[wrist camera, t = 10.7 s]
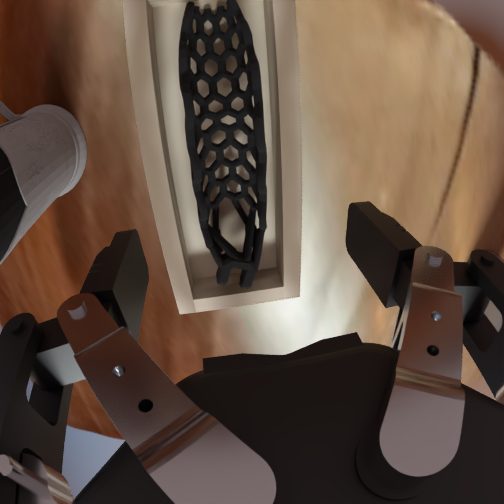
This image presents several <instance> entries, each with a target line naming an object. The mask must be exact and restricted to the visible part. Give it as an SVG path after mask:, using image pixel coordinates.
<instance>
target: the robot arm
mask: <svg viewBox="0 0 504 504" xmlns="http://www.w3.org/2000/svg"><path fill="white" fill-rule="evenodd" d="M346 248H347V251H348V253H349V255H350V256H351V258H352V259H353V261H354V262H355V264H356V265H357V266H358V268H359V269H360V271H361V272H362V274H363V275H364V277H365V278H366V279H367V281H368V282H369V284H370V285H371V287H372V288H373V290H374V291H375V293H376V294H377V296H378V297H379V299H380V300H381V302H382V303H383V305H384V306H385V308H388V307H393V306H397V305H398V306H399V307H400V308H399V311H398V314H397V318H396V323H395V327H394V331H393V335H392V339H391V343H390V347H388V346H385V345H381V344H375V343H362V341H361V339H360V337H359V335H358V334H357V332H355V333H351V334H346V335H342V336H337V337H333V338H328V339H323V340H320V341H318V342H316V343H313V344H311V345H309V346H306V347H304V348H302V349H299V350H297V351H294V352H292V353H290V354H287V355H263V354H243V353H242V354H235V355H227V356H219V357H211V358H203V370H202V371H199V372H197V373H195V374H192V375H190V376H188V377H186V378H185V379H183V380H181V381H180V382H178V383H177V384H175V383H174V382H173V381H172V380H171V379H170V378H169V377H168V376H167V375H166V374H165V373H164V372H163V371H162V370H161V368H160V367H159V366H158V365H157V364H156V363H155V362H154V361H153V360H152V359H151V357H150V356H149V355H148V354H147V353H146V352H145V351H144V350H143V348H142V347H141V346H140V345H139V344H138V336H139V330H140V324H141V318H142V313H143V307H144V302H145V296H146V291H147V286H148V281H149V273H148V267H147V263H146V259H145V256H144V252H143V249H142V245H141V242H140V238H139V235H138V232H137V230H136V229H134V230H127V231H121V232H116V234H115V236H114V238H113V240H112V242H111V245H110V246H109V247H105V248H104V249H103V250H102V251H101V252H100V253H99V254H98V255H97V256H96V258H95V260H94V262H93V266H92V267H91V269H90V271H89V272H90V273H88V275H87V278H86V280H85V282H84V284H83V287H82V289H81V291H80V294H77V295H74V296H72V297H70V298H68V299H67V300H66V301H64V302H63V303H62V305H61V306H60V307H59V309H58V311H57V317H56V318H54V319H51V320H48V321H45V322H42V323H39V324H38V322H37V321H36V319H35V317H34V316H33V315H32V314H30V313H21V314H18V315H16V316H15V317H13V318H12V319H10V320H9V321H8V322H7V323H6V325H5V326H4V328H3V329H2V332H1V334H0V504H504V260H503V259H502V258H501V257H500V256H497V255H496V254H495V253H493V252H492V251H485V250H474V251H472V252H471V254H470V257H469V261H468V263H467V262H453V259H452V257H451V256H450V255H449V254H448V253H447V252H446V251H444V250H442V249H440V248H437V247H434V246H422V245H421V244H420V243H419V242H418V241H417V240H416V239H415V238H414V237H413V236H412V235H411V234H410V233H409V232H408V231H406V229H405V228H403V227H402V226H400V224H399V223H398V222H397V221H396V220H395V219H394V218H393V217H391V216H389V215H387V214H385V213H383V212H381V211H380V210H378V209H377V208H376V207H375V206H374V205H373V204H372V203H371V202H369V201H367V202H356V203H351V204H350V205H349V208H348V219H347V230H346ZM463 344H464V346H465V347H466V349H467V350H468V352H469V354H470V355H471V357H472V358H473V360H474V362H475V363H476V365H477V367H478V368H479V370H480V372H481V374H482V375H483V377H484V379H485V381H486V382H487V384H488V386H489V387H490V389H491V391H492V393H493V395H494V397H495V399H496V400H494V399H491V398H490V397H488V396H486V395H484V394H481V393H480V392H478V391H476V390H474V389H472V388H470V387H468V386H466V385H464V384H462V383H461V372H462V353H463ZM30 377H31V378H32V379H33V380H34V384H33V388H32V391H31V395H30V399H29V402H28V400H27V396H26V389H27V385H28V381H29V378H30ZM83 379H86V380H87V382H88V384H89V385H90V387H91V389H92V390H93V392H94V394H95V395H96V397H97V399H98V400H99V402H100V403H101V405H102V407H103V408H104V410H105V411H106V413H107V414H108V416H109V418H110V419H111V421H112V422H113V424H114V425H115V426H116V428H117V429H118V431H119V432H120V434H121V435H122V437H123V438H124V439H125V442H124V443H123V444H122V445H121V446H120V448H119V449H118V450H117V451H116V452H115V453H114V455H113V456H112V457H111V458H110V459H109V460H108V461H107V463H106V464H105V465H104V466H103V467H102V468H101V469H100V471H99V472H98V473H97V474H96V475H95V476H94V477H93V478H92V480H91V481H90V482H89V483H88V484H87V485H86V486H85V487H84V489H83V490H82V491H81V492H80V493H79V494H78V495H77V496H76V498H75V499H74V498H73V496H72V495H71V490H70V486H69V484H68V482H67V480H66V479H65V478H64V476H63V475H62V463H63V451H64V441H65V433H66V426H67V418H68V412H69V405H70V399H71V393H72V388H73V383H74V382H77V381H80V380H83Z"/></svg>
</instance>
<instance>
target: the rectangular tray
mask: <svg viewBox="0 0 504 504" xmlns="http://www.w3.org/2000/svg"><path fill="white" fill-rule="evenodd" d="M189 1H190V2H194V4H195V5H194V6H199V7H200V9H199V11H200V13H201V15H202V14H203V13H204V9H206V8H211V12H212V13H213V15H215V14H216V12H217V7H218V6H224V7H225V10H227V4H226V2H227V0H123V9H124V24H125V36H126V47H127V57H128V66H129V75H130V83H131V91H132V98H133V105H134V112H135V118H136V125H137V131H138V137H139V143H140V148H141V154H142V159H143V165H144V170H145V175H146V180H147V185H148V190H149V194H150V199H151V204H152V208H153V213H154V217H155V222H156V226H157V230H158V234H159V238H160V242H161V247H162V251H163V254H164V258H165V262H166V266H167V270H168V274H169V277H170V281H171V285H172V288H173V292H174V295H175V299H176V302H177V306H178V309H179V313H180V314H187V313H195V312H202V311H210V310H217V309H224V308H231V307H238V306H245V305H252V304H258V303H264V302H271V301H277V300H283V299H289V298H295V297H300V273H301V235H302V133H301V96H300V72H299V52H298V35H297V20H296V7H295V0H236V1H237V3H238V5H239V7H240V9H241V11H242V13H243V15H244V18H245V19H246V21H247V23H248V24H249V27H250V30H251V32H252V37H253V45H254V49H255V53H256V56H257V59H258V61H259V65H260V73H261V84H262V97H263V110H264V128H265V142H266V147H267V171H266V186H267V212H266V221H267V229H266V230H265V233H264V240H263V247H262V254H261V258H260V263H259V267H258V271H257V273H256V274H255V277H254V280H253V283H252V286H251V287H250V288H248V289H244V288H241V287H240V285H239V282H240V275H241V271H242V269H237V268H232V269H231V271H230V275H229V278H228V282H227V284H226V285H225V286H224V285H219V284H217V279H216V272H217V269H218V265H217V264H216V262H215V260H214V258H213V256H212V254H211V252H210V250H209V249H208V248H207V247H206V245H205V241H204V238H203V235H202V231H201V228H200V224H199V219H198V211H197V201H196V198H195V194H194V191H193V187H192V178H191V165H190V158H189V154H188V150H187V144H186V134H185V110H184V103H183V97H182V94H181V90H180V84H179V62H178V57H179V40H180V31H181V25H182V20H183V16H184V12H185V8H186V4H187V2H189ZM234 19H235V16H234ZM235 22H236V19H235ZM220 29H221V31H222V32H224V33H226V31H227V29H228V24H227V21H226V19H225V18H224V17H223V18H222V20H221V22H220ZM193 30H194V33H195V32H196V22H195V19H194V21H193ZM204 32H205V33H206V34H207V35H208V36H210V35H211V34H212V33H213V29H212V24H211V23H210V22H209V21H208V20H207V21H206V22H205V23H204ZM232 43H233V48H235V49H237V47H238V44H239V40H238V37H237V34H236V33H234V35H233V37H232ZM213 45H214V52H215V53H217V54H218V55H221V54H222V53H223V51H224V50H225V46H224V41H222V40H221V39H219V38H218V39H217V40H216V41H215V42H214V43H213ZM197 51H198V53H199V54H200V55H201V56H202V55H203V54H205V53H206V52H205V43H204V42H203V41H202V40H201V39H199V40H197ZM244 59H245V63H246V64H247V60H248V58H247V53H246V51H245V54H244ZM236 67H237V62H236V58H235V57H234V56H231V55H230V56H229V58H228V59H227V60H226V70H227V71H229V72H231V73H233V72H234V70H235V69H236ZM191 69H192V71H193V73H194V74H195V73H196V72H197V69H196V62H195V61H194V60H193V59H192V58H191ZM205 71H206V73H207V74H209V75H210V76H213V75H214V74H216V73H217V72H218V65H217V63H216V62H215V61H213V60H212V59H209V60H208V61H207V62H206V63H205ZM239 83H240V88H241V90H244V91H245V90H246V87H247V84H248V81H247V75H246V73H244V72H243V73H242V75H241V77H240V78H239ZM197 85H198V92H199V93H200V94H201V95H202V96H203V97H204V98H205V97H206V96H207V95H208V94H209V87H208V83H206V82H205V81H203V80H199V81H198V82H197ZM217 87H218V93H220V94H222V95H223V96H225V97H226V96H227V95H228V94H229V93H230V92H231V91H232V88H231V82H230V80H228V79H226V78H222V79H221V80H220V81H218V82H217ZM252 102H253V107H254V98H253V97H252ZM193 103H194V109H195V114H196V115H198V114H199V113H200V106H199V105H198V104H197V103H196V102H195V101H193ZM231 106H232V108H233V109H236V110H238V111H239V110H240V109H242V108H243V107H244V104H243V99H241V98H239V97H237V98H235V99H234V100H233V102H232V103H231ZM222 109H223V104H221V103H219V102H217V101H215V100H214V101H213V102H212V103H210V104H209V110H210V111H212V112H215V113H216V112H218V111H220V110H222ZM244 120H245V123H246V124H247V125H248V126H249V127H250V128H252V129H253V121H252V118H251V117H250V116H249V115H247V116H246V117H244ZM221 122H222V123H226V124H229V125H230V124H232V123H235V122H236V119H235V118H233V117H231V116H229V115H227V116H226V117H224V118H222V119H221ZM212 124H213V121H212V120H210V119H207V118H206V119H205V121H204V122H203V123H202V125H201V127H202V130H206V129H207V128H208V127H209V126H210V125H212ZM234 137H235V139H237V140H238V141H239V142H240V143H242V144H246V143H248V141H247V135H245V134H244V133H243V132H242V131H241V130H237V131H235V132H234ZM211 138H212V142H213V143H216V144H219V143H221V142H222V141H223V140H224V139H225V138H226V132H223V131H220V130H218V131H217V132H216V133H214V134H213V135H212V136H211ZM202 147H203V138H201V139H200V142H199V145H198V149H197V151H198V154H199V153H200V151H201V149H202ZM246 153H247V160H248V161H249V162H250V163H251V164H252V165H253V166H254V167H255V168H256V162H255V160H254V158H253V156H252V154H251V152H250V151H248V152H246ZM224 157H225V158H228V159H230V160H234V159H237V158H238V150H236V149H235V148H234V147H232V146H231V145H230V146H228V147H227V148H226V149H225V150H224ZM215 159H216V153H215V152H214V151H211V150H210V151H209V154H208V156H207V158H206V160H205V165H206V167H210V165H211V164H212V163H213V162H214V161H215ZM236 169H237V174H238V175H240V176H241V177H242V178H244V179H245V180H248V179H249V173H248V172H247V171H246V170H245V168H244V167H243V166H242V165H240V166H238V167H236ZM228 173H229V171H228V167H226V166H224V165H221V166H220V167H219V168H218V169H217V171H216V172H215V176H216V178H220V179H222V178H223V177H224V176H226V175H227V174H228ZM207 183H208V176H207V175H205V179H204V184H203V192H204V189H205V187H206V185H207ZM227 190H228V191H231V192H233V193H237V192H240V191H241V187H240V185H239V184H238V183H236V182H235V181H234V180H232V181H230V182H229V183H228V184H227ZM219 192H220V191H219V186H214V188H213V190H212V192H211V195H210V201H213V200H214V199H215V197H216V196H217V194H218V193H219ZM248 192H249V194H250V195H251V196H252V198H253V199H254V200H255V202H256V203H257V199H256V196H255V194H254V192H253V190H252V188H251V187H248ZM239 203H240V204H241V206H242V208H243V210H244V211H245V213H246V215H247V217H248V215H249V209H250V206H249V205H248V203H247V202H246V201H245V200H244V198H242V199H239ZM209 224H210V225H211V226H212V209H211V210H210V216H209ZM255 225H256V227H257V228H259V218H258V214H257V211H256V220H255ZM219 229H220V231H221V235H222V236H223V237H224V238H225V239H226V240H227V241H228V242H229V243H230V244H231V245H232V246H234V247H235V248H236V250H237V251H239V252H242V251H243V245H244V239H245V224H244V222H243V221H242V219H241V217H240V216H239V214H238V212H237V211H236V209H235V207H234V205H233V204H232V201H231V199H229V198H226V197H225V198H224V199H223V200H222V201H221V203H220V204H219ZM252 250H253V247H252ZM221 253H222V254H224V253H225V252H224V251H223V252H221Z"/></svg>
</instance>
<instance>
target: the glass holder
mask: <svg viewBox="0 0 504 504" xmlns="http://www.w3.org/2000/svg"><path fill="white" fill-rule="evenodd" d="M0 113H1V114H2V115H3V116H4V117H5V118H7V119H8V120H10V121H8V122H6V123H3V124H1V125H0V265H1V263H2V262H3V261H4V260H5V258H6V257H7V256H8V255H9V253H10V252H11V251H12V249H13V248H14V247H15V245H16V244H17V243H18V242H19V240H20V239H21V238H22V237H23V236H24V234H25V233H26V232H27V231H28V229H29V228H30V227H31V226H32V225H33V224H34V222H35V221H36V220H37V219H38V218H39V217H40V216H41V214H42V213H43V212H44V211H45V210H46V209H47V208H48V207H49V205H50V204H51V203H52V202H53V201H54V200H55V199H56V198H57V197H59V196H62V195H64V194H65V193H67V192H69V191H70V190H71V189H72V188H73V187H74V186H75V185H76V184H77V182H78V181H79V179H80V178H81V176H82V174H83V171H84V168H85V165H86V159H87V146H86V139H85V136H84V133H83V130H82V128H81V126H80V124H79V123H78V121H77V120H76V119H75V117H74V116H73V115H72V114H71V113H69V112H68V111H66V110H65V109H63V108H61V107H59V106H56V105H50V104H46V105H39V106H35V107H33V108H31V109H29V110H27V111H26V112H25V113H24V114H18V115H16V114H14V113H13V112H12V111H11V110H10V109H8V108H7V107H6V106H5V105H4V104H3V103H2V102H1V101H0Z"/></svg>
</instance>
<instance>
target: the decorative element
mask: <svg viewBox="0 0 504 504" xmlns="http://www.w3.org/2000/svg"><path fill="white" fill-rule="evenodd" d="M226 4H227V10H225V7H224V6H218V7H217V12H216V14H215V15H213V13H212V12H211V8H206V9H204V13H203V14H202V15H201V13H200V11H199V9H200V7H199V6H194V5H195V4H194V2H190V1H189V2H187V4H186V8H185V12H184V16H183V20H182V25H181V31H180V40H179V57H178V62H179V84H180V90H181V94H182V97H183V103H184V110H185V134H186V144H187V150H188V154H189V158H190V165H191V178H192V187H193V191H194V194H195V198H196V201H197V211H198V219H199V224H200V228H201V231H202V235H203V238H204V241H205V245H206V247H207V248H208V249H209V250H210V252H211V254H212V256H213V258H214V260H215V262H216V264H217V265H218V269H217V272H216V279H217V284H219V285H224V286H225V285H226V284H227V282H228V278H229V275H230V271H231V269H232V268H237V269H242V271H241V275H240V282H239V285H240V287H241V288H244V289H248V288H250V287H251V286H252V283H253V280H254V277H255V274H256V273H257V271H258V267H259V263H260V258H261V254H262V247H263V240H264V233H265V230H266V229H267V221H266V212H267V186H266V171H267V147H266V142H265V128H264V110H263V97H262V84H261V73H260V65H259V61H258V59H257V56H256V53H255V49H254V45H253V37H252V32H251V30H250V27H249V24H248V23H247V21H246V19H245V18H244V15H243V13H242V11H241V9H240V7H239V5H238V3H237V1H236V0H227V2H226ZM234 16H235V19H236V22H235V19H234ZM223 17H224V18H225V19H226V21H227V24H228V29H227V31H226V33H224V32H222V31H221V29H220V22H221V20H222V18H223ZM194 19H195V22H196V32H195V33H194V30H193V21H194ZM207 20H208V21H209V22H210V23H211V24H212V29H213V33H212V34H211V35H210V36H208V35H207V34H206V33H205V32H204V23H205V22H206V21H207ZM234 33H236V34H237V37H238V40H239V44H238V47H237V49H235V48H233V43H232V37H233V35H234ZM218 38H219V39H221V40H222V41H224V46H225V50H224V51H223V53H222V54H221V55H218V54H217V53H215V52H214V45H213V43H214V42H215V41H216V40H217V39H218ZM199 39H201V40H202V41H203V42H204V43H205V52H206V53H205V54H203V55H202V56H201V55H200V54H199V53H198V51H197V40H199ZM245 51H246V53H247V58H248V60H247V64H246V63H245V59H244V54H245ZM230 55H231V56H234V57H235V58H236V62H237V67H236V69H235V70H234V72H233V73H231V72H229V71H227V70H226V60H227V59H228V58H229V56H230ZM191 58H192V59H193V60H194V61H195V62H196V69H197V72H196V73H195V74H194V73H193V71H192V69H191ZM209 59H212V60H213V61H215V62H216V63H217V65H218V72H217V73H216V74H214V75H213V76H210V75H209V74H207V73H206V71H205V63H206V62H207V61H208V60H209ZM243 72H244V73H246V75H247V81H248V84H247V87H246V90H245V91H244V90H241V88H240V83H239V78H240V77H241V75H242V73H243ZM222 78H226V79H228V80H230V82H231V88H232V91H231V92H230V93H229V94H228V95H227V96H226V97H225V96H223V95H222V94H220V93H218V87H217V82H218V81H220V80H221V79H222ZM199 80H203V81H205V82H206V83H208V87H209V94H208V95H207V96H206V97H205V98H204V97H203V96H202V95H201V94H200V93H199V92H198V85H197V82H198V81H199ZM237 97H239V98H241V99H243V104H244V107H243V108H242V109H240V110H239V111H238V110H236V109H233V108H232V106H231V103H232V102H233V100H234V99H235V98H237ZM252 97H253V98H254V107H253V102H252ZM214 100H215V101H217V102H219V103H221V104H223V109H222V110H220V111H218V112H216V113H215V112H212V111H210V110H209V104H210V103H212V102H213V101H214ZM193 101H195V102H196V103H197V104H198V105H199V106H200V113H199V114H198V115H196V114H195V109H194V103H193ZM227 115H229V116H231V117H233V118H235V119H236V122H235V123H232V124H230V125H229V124H226V123H222V122H221V119H222V118H224V117H226V116H227ZM247 115H249V116H250V117H251V118H252V121H253V129H252V128H250V127H249V126H248V125H247V124H246V123H245V120H244V117H246V116H247ZM206 118H207V119H210V120H212V121H213V124H212V125H210V126H209V127H208V128H207V129H206V130H202V127H201V125H202V123H203V122H204V121H205V119H206ZM218 130H220V131H223V132H226V138H225V139H224V140H223V141H222V142H221V143H219V144H216V143H213V142H212V138H211V136H212V135H213V134H214V133H216V132H217V131H218ZM237 130H241V131H242V132H243V133H244V134H245V135H247V141H248V143H246V144H242V143H240V142H239V141H238V140H237V139H235V137H234V132H235V131H237ZM201 138H203V147H202V149H201V151H200V153H199V154H198V151H197V149H198V145H199V142H200V139H201ZM230 145H231V146H232V147H234V148H235V149H236V150H238V158H237V159H234V160H230V159H228V158H225V157H224V150H225V149H226V148H227V147H228V146H230ZM210 150H211V151H214V152H215V153H216V159H215V161H214V162H213V163H212V164H211V165H210V167H206V165H205V160H206V158H207V156H208V154H209V151H210ZM248 151H250V152H251V154H252V156H253V158H254V160H255V162H256V168H255V167H254V166H253V165H252V164H251V163H250V162H249V161H248V160H247V153H246V152H248ZM221 165H224V166H226V167H228V171H229V173H228V174H227V175H226V176H224V177H223V178H222V179H220V178H216V176H215V172H216V171H217V169H218V168H219V167H220V166H221ZM240 165H242V166H243V167H244V168H245V170H246V171H247V172H248V173H249V179H248V180H245V179H244V178H242V177H241V176H240V175H238V174H237V169H236V167H238V166H240ZM205 175H207V176H208V183H207V185H206V187H205V189H204V192H203V184H204V179H205ZM232 180H234V181H235V182H236V183H238V184H239V185H240V187H241V191H240V192H237V193H233V192H231V191H228V190H227V184H228V183H229V182H230V181H232ZM214 186H219V191H220V192H219V193H218V194H217V196H216V197H215V199H214V200H213V201H210V195H211V192H212V190H213V188H214ZM248 187H251V188H252V190H253V192H254V194H255V196H256V199H257V203H256V202H255V200H254V199H253V198H252V196H251V195H250V194H249V192H248ZM225 197H226V198H229V199H231V201H232V204H233V205H234V207H235V209H236V211H237V212H238V214H239V216H240V217H241V219H242V221H243V222H244V224H245V239H244V245H243V251H242V252H239V251H237V250H236V248H235V247H234V246H232V245H231V244H230V243H229V242H228V241H227V240H226V239H225V238H224V237H223V236H222V235H221V231H220V229H219V204H220V203H221V201H222V200H223V199H224V198H225ZM242 198H244V200H245V201H246V202H247V203H248V205H249V206H250V209H249V215H248V217H247V215H246V213H245V211H244V210H243V208H242V206H241V204H240V203H239V199H242ZM211 209H212V226H211V225H210V224H209V216H210V210H211ZM256 211H257V214H258V218H259V228H257V227H256V225H255V220H256ZM252 247H253V250H252ZM223 251H224V252H225V253H224V254H222V253H221V252H223Z"/></svg>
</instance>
